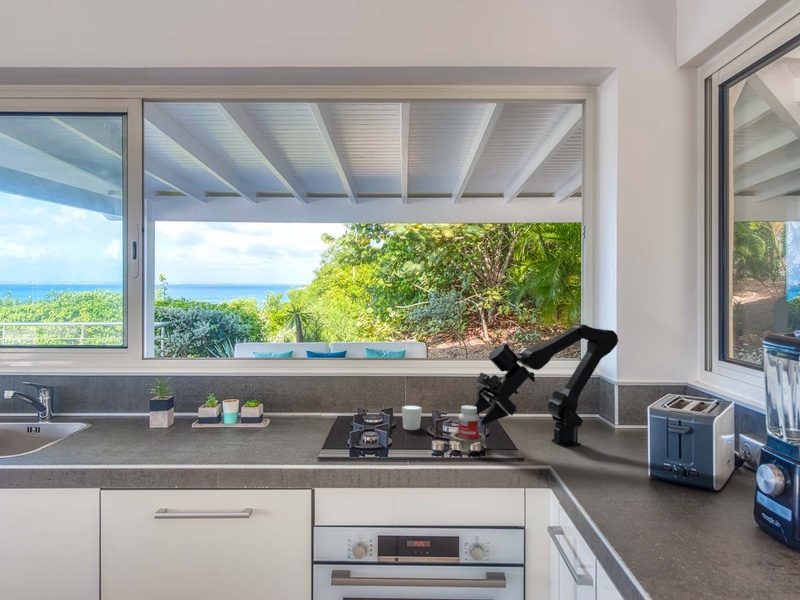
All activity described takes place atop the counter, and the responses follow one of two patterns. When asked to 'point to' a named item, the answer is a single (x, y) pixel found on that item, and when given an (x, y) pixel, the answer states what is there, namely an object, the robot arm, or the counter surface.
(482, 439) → the ring holder
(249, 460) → the counter surface
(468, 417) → the pill bottle
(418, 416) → the white cup
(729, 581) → the counter surface
